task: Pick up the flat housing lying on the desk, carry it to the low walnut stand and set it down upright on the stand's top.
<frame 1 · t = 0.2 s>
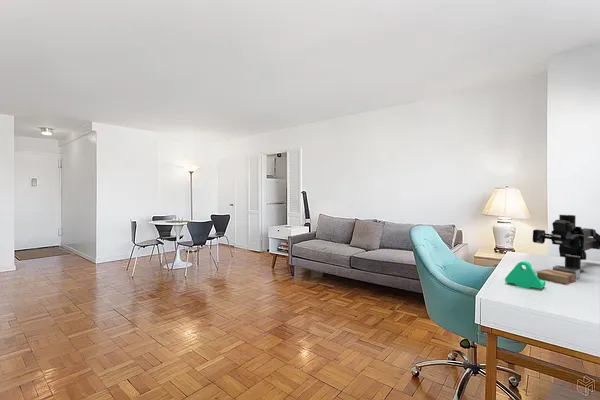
hand: (549, 241, 133), 16 cm above the table, tool horizontal, fingers open, 9 cm apart
stand: (556, 279, 130), on the table
housing: (566, 277, 135), on the table
camera mount: (525, 286, 123), on the table
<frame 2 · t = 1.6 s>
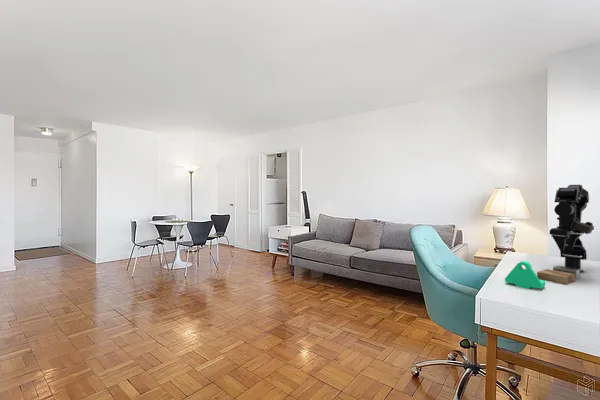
hand: (566, 250, 135), 12 cm above the table, tool pointing down, fingers open, 9 cm apart
nothing on the table moved.
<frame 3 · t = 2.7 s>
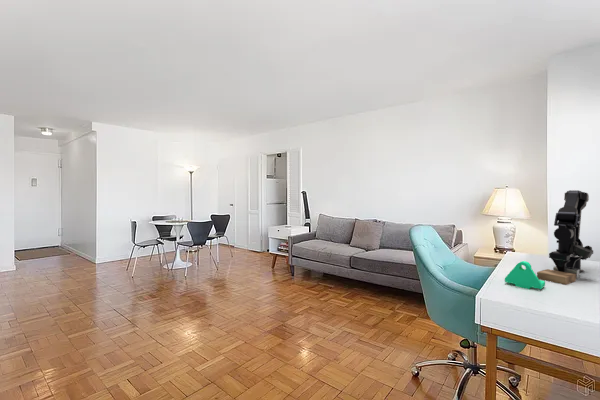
hand: (566, 273, 135), 2 cm above the table, tool pointing down, fingers open, 8 cm apart
nothing on the table moved.
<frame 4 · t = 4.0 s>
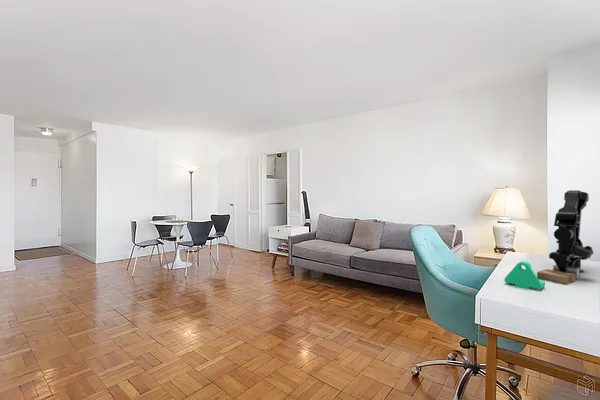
hand: (566, 273, 135), 1 cm above the table, tool pointing down, fingers closed on housing, 5 cm apart
housing: (566, 275, 135), on the table, touching gripper
everything else where it was.
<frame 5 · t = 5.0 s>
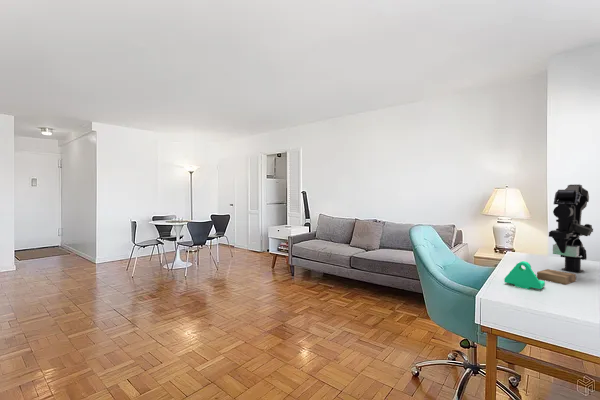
hand: (565, 252, 135), 11 cm above the table, tool pointing down, fingers closed on housing, 5 cm apart
housing: (565, 254, 135), point 10 cm above the table, touching gripper
everything else where it was.
when the fingers open (5 cm above the table, at t = 6.9 s): housing drops 1 cm, resting on stand.
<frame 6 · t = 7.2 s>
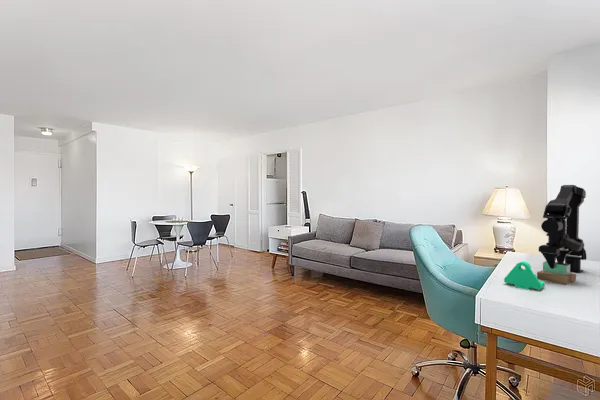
hand: (556, 267, 130), 5 cm above the table, tool pointing down, fingers open, 8 cm apart
housing: (556, 272, 130), point 3 cm above the table, touching stand
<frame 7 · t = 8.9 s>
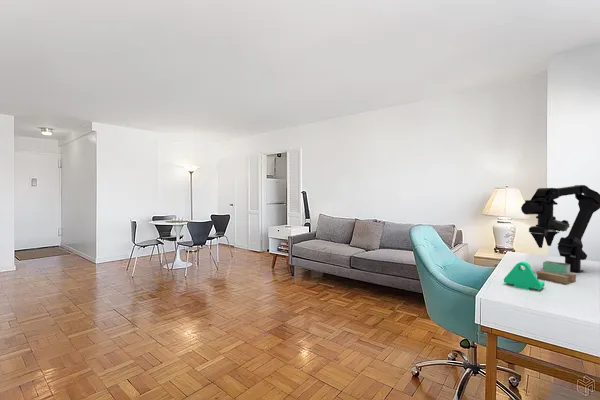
hand: (544, 246, 144), 12 cm above the table, tool pointing down, fingers open, 9 cm apart
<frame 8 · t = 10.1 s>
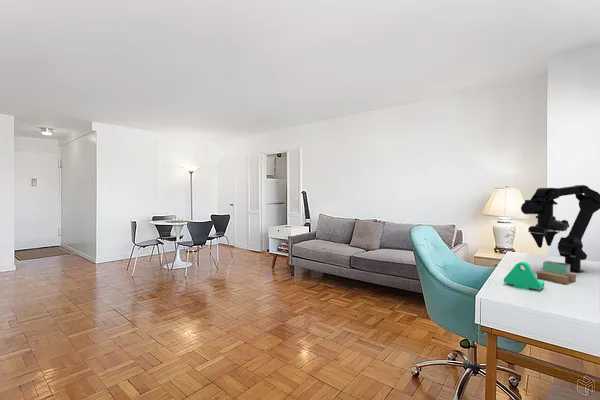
hand: (544, 246, 144), 12 cm above the table, tool pointing down, fingers open, 9 cm apart
at the end: housing inside the target area on the stand (0.0 cm from its centre), point 3.1 cm above the stand's base; housing tilted 0°; the gripper is holding nothing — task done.
